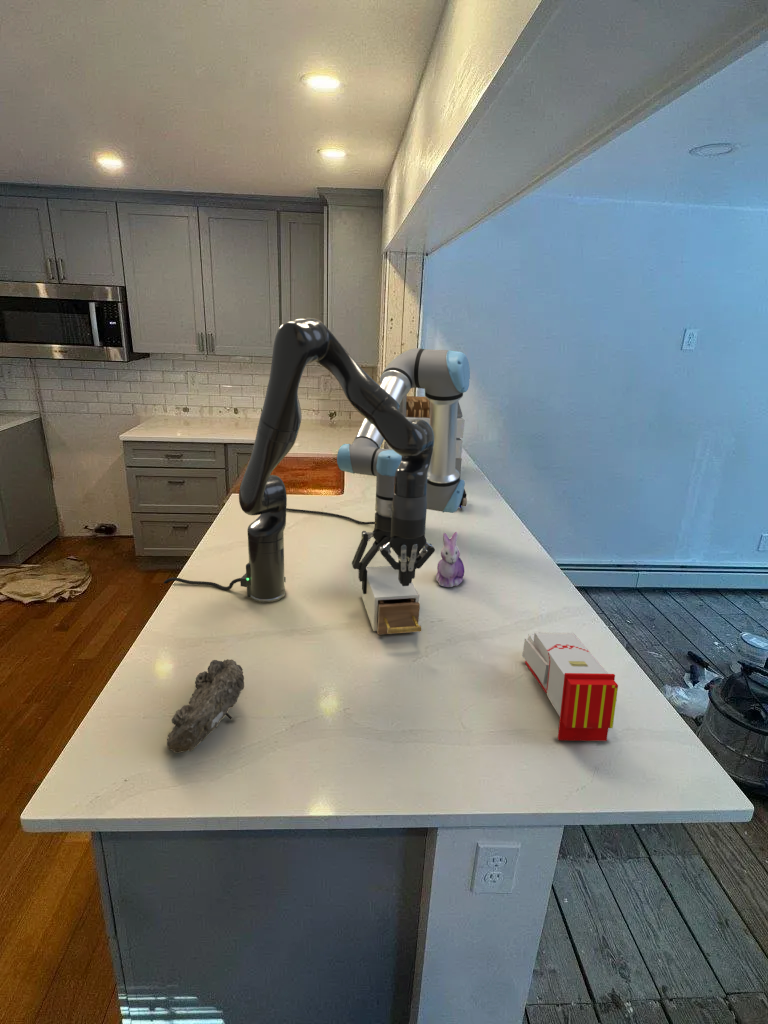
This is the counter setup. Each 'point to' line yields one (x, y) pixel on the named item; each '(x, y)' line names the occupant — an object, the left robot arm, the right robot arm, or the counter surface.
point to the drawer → (398, 616)
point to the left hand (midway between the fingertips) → (404, 584)
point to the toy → (573, 684)
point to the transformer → (421, 410)
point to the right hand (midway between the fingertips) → (386, 590)
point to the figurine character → (463, 500)
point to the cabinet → (384, 590)
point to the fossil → (206, 705)
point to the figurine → (450, 563)
